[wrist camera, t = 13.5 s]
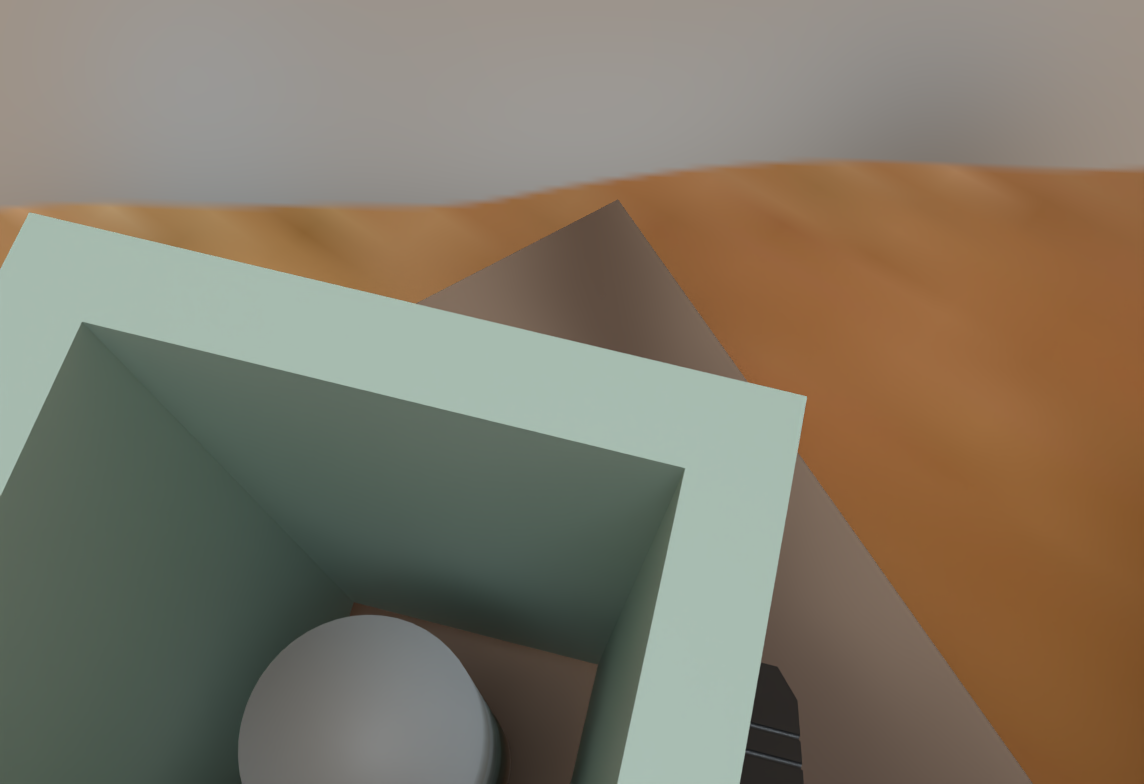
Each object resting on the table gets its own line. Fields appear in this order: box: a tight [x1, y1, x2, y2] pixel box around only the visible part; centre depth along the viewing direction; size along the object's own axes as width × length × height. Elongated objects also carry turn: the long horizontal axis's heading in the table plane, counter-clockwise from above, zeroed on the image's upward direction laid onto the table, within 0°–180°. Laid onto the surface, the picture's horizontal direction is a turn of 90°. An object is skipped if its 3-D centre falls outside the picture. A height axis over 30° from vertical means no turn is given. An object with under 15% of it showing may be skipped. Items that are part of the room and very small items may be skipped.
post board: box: [238, 200, 1033, 784], centre depth 14 cm, size 17×16×10 cm
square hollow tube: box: [0, 212, 807, 784], centre depth 11 cm, size 6×6×11 cm
